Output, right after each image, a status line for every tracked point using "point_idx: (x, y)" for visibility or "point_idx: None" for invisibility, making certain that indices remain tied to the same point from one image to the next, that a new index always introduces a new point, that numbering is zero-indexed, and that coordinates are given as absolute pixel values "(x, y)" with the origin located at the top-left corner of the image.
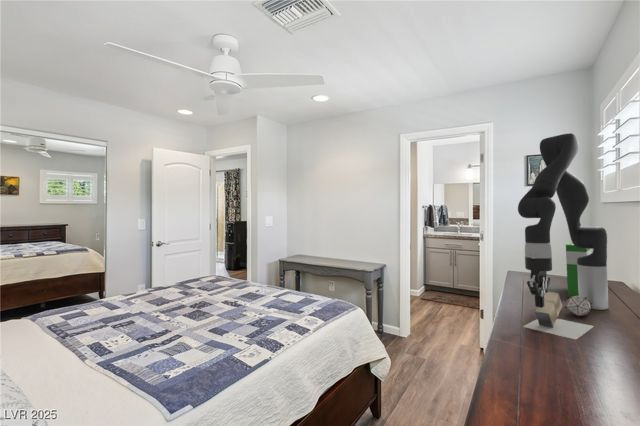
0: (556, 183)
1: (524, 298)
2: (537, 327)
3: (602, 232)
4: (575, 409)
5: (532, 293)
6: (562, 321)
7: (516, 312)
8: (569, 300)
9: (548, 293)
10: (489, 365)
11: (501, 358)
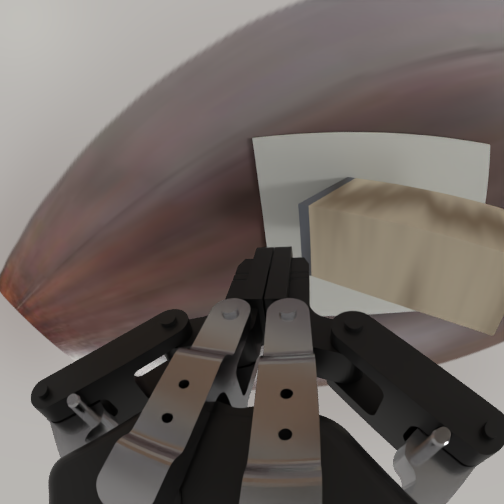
0: None
1: None
2: (300, 186)
3: None
4: (57, 340)
5: (156, 326)
6: None
7: (456, 32)
8: None
9: (498, 281)
10: (18, 246)
11: (37, 244)
